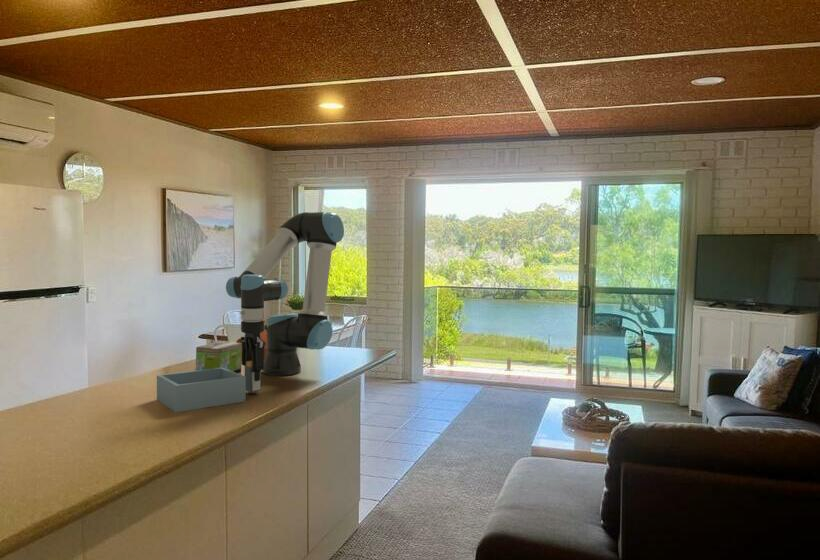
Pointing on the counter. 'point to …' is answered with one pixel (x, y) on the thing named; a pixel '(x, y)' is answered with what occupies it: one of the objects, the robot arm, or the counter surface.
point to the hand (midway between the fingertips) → (252, 388)
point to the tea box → (219, 356)
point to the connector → (250, 377)
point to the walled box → (200, 389)
